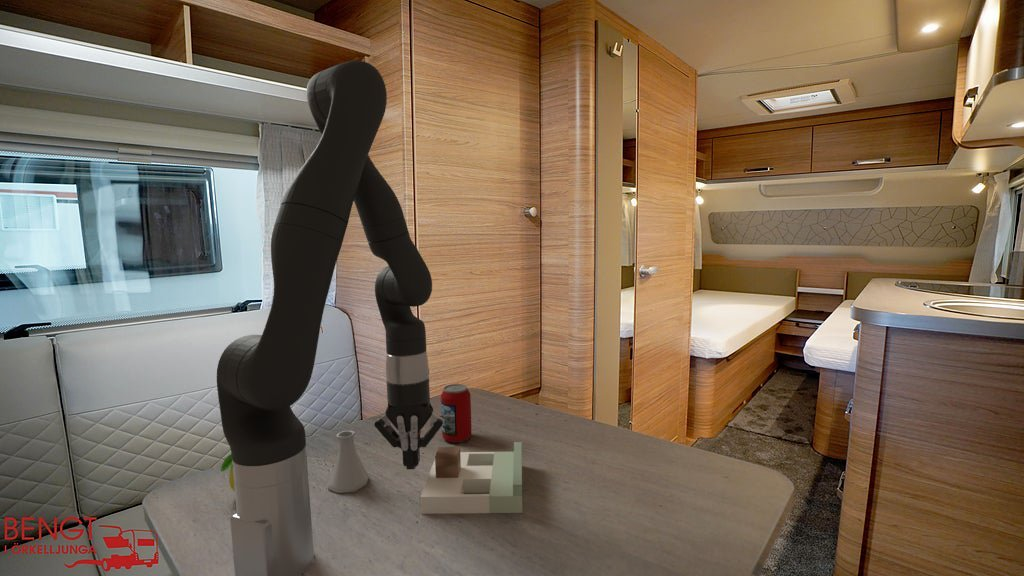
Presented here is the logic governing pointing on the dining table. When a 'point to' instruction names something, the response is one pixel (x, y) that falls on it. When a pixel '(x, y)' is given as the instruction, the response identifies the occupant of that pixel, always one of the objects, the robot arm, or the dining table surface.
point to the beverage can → (456, 413)
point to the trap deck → (477, 485)
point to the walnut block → (447, 462)
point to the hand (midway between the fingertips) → (412, 467)
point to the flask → (347, 466)
